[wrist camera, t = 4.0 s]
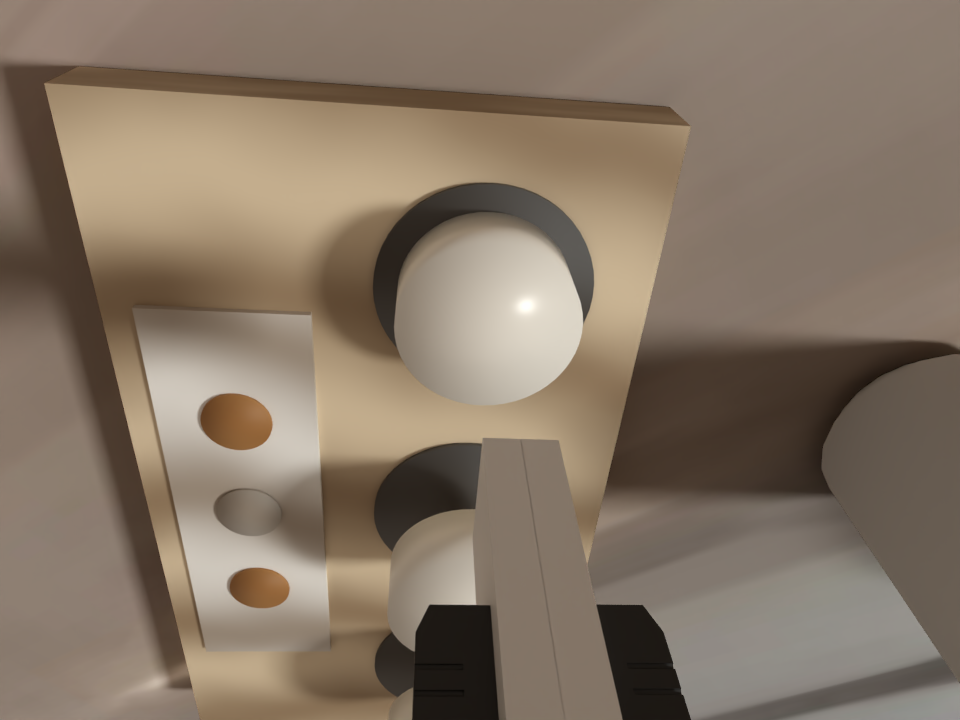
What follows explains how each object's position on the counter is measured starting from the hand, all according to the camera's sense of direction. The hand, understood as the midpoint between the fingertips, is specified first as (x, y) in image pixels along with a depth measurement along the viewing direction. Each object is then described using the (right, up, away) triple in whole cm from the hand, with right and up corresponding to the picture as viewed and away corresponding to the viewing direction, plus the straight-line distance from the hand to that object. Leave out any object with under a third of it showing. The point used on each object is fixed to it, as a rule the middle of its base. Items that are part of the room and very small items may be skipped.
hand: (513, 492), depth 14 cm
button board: (-4, -2, +13) cm, 13 cm away
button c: (-1, +5, +6) cm, 8 cm away
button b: (-1, -4, +9) cm, 10 cm away
